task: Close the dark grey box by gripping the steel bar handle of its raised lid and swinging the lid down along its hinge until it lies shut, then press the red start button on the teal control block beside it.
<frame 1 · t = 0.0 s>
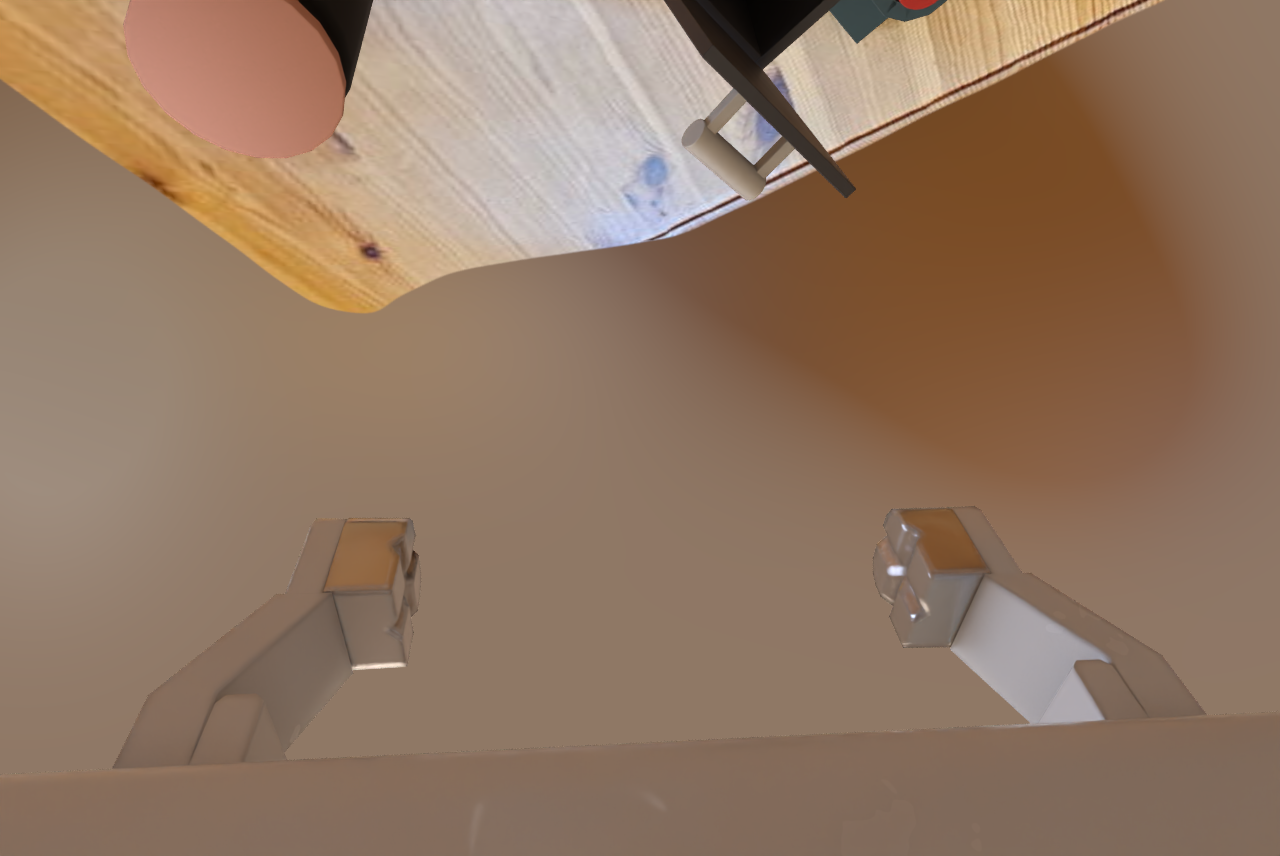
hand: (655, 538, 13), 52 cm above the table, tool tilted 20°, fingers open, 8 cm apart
lid: (714, 93, 43), point 18 cm above the table, hinge at 78.0°
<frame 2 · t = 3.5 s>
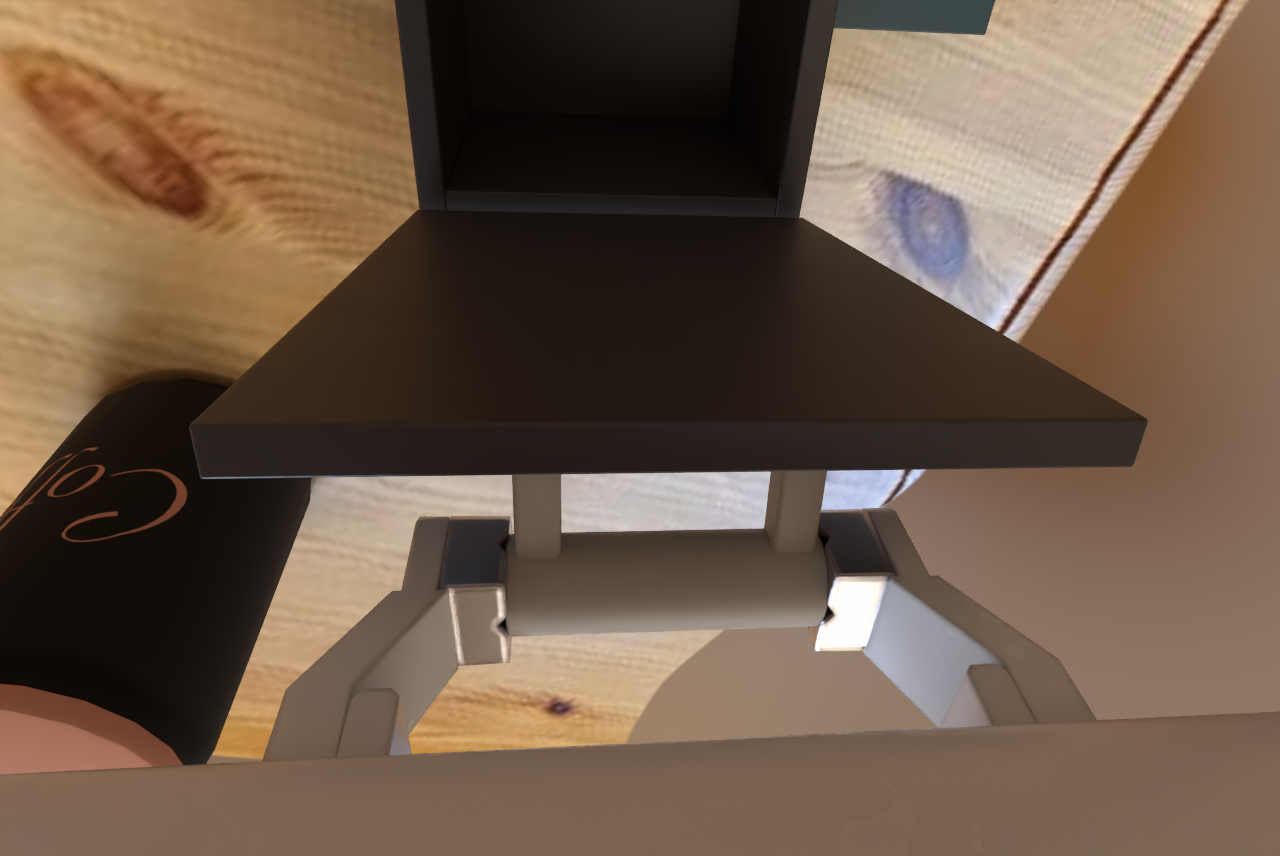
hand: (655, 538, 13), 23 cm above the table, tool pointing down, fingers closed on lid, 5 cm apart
lid: (635, 373, 17), point 18 cm above the table, hinge at 78.0°, touching gripper
coffee jar: (209, 453, 39), on the table
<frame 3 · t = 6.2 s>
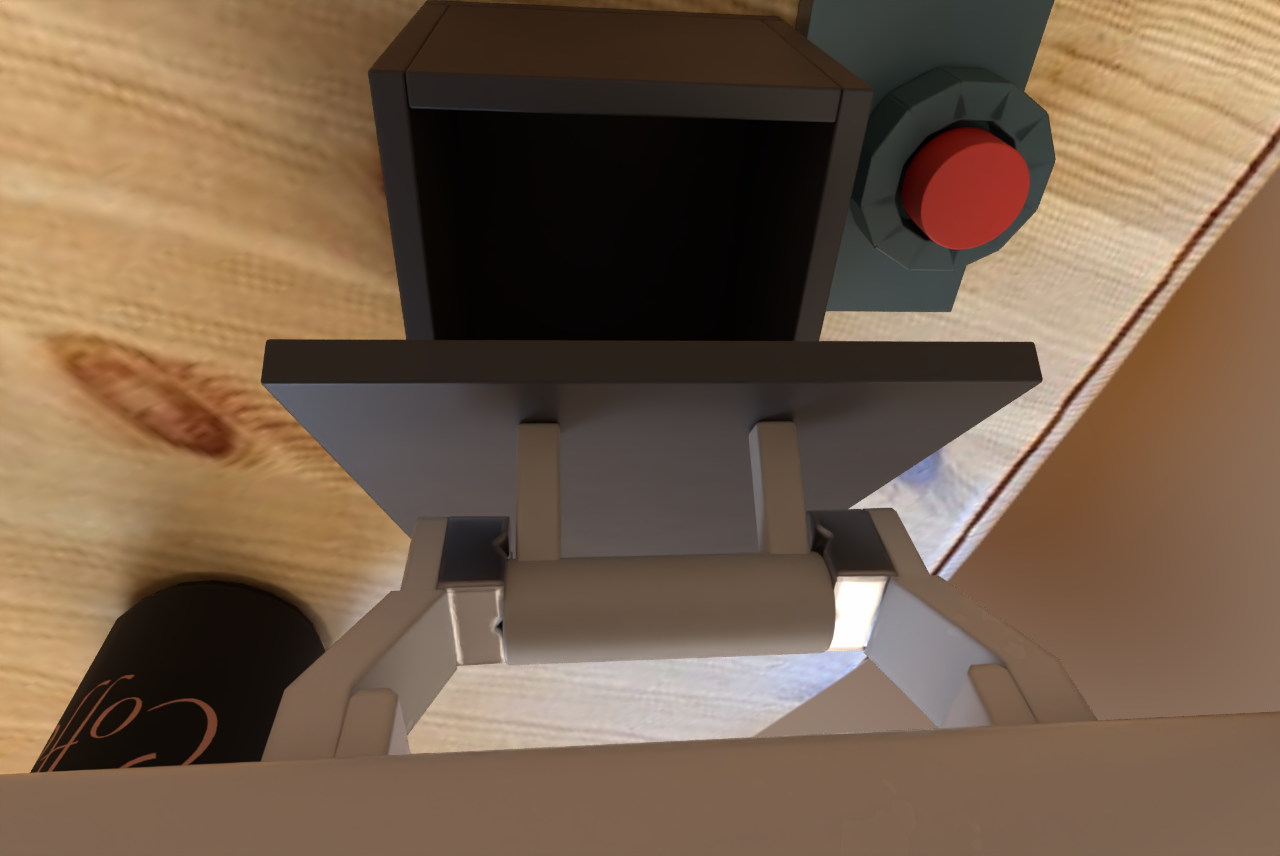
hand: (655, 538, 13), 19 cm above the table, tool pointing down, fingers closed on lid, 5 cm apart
lid: (632, 569, 18), point 16 cm above the table, hinge at 34.1°, touching gripper
dark grey box: (601, 221, 30), on the table
coffee jar: (231, 635, 42), on the table
start button: (963, 189, 26), point 4 cm above the table, slide at 0.1 cm
control block: (880, 150, 29), on the table
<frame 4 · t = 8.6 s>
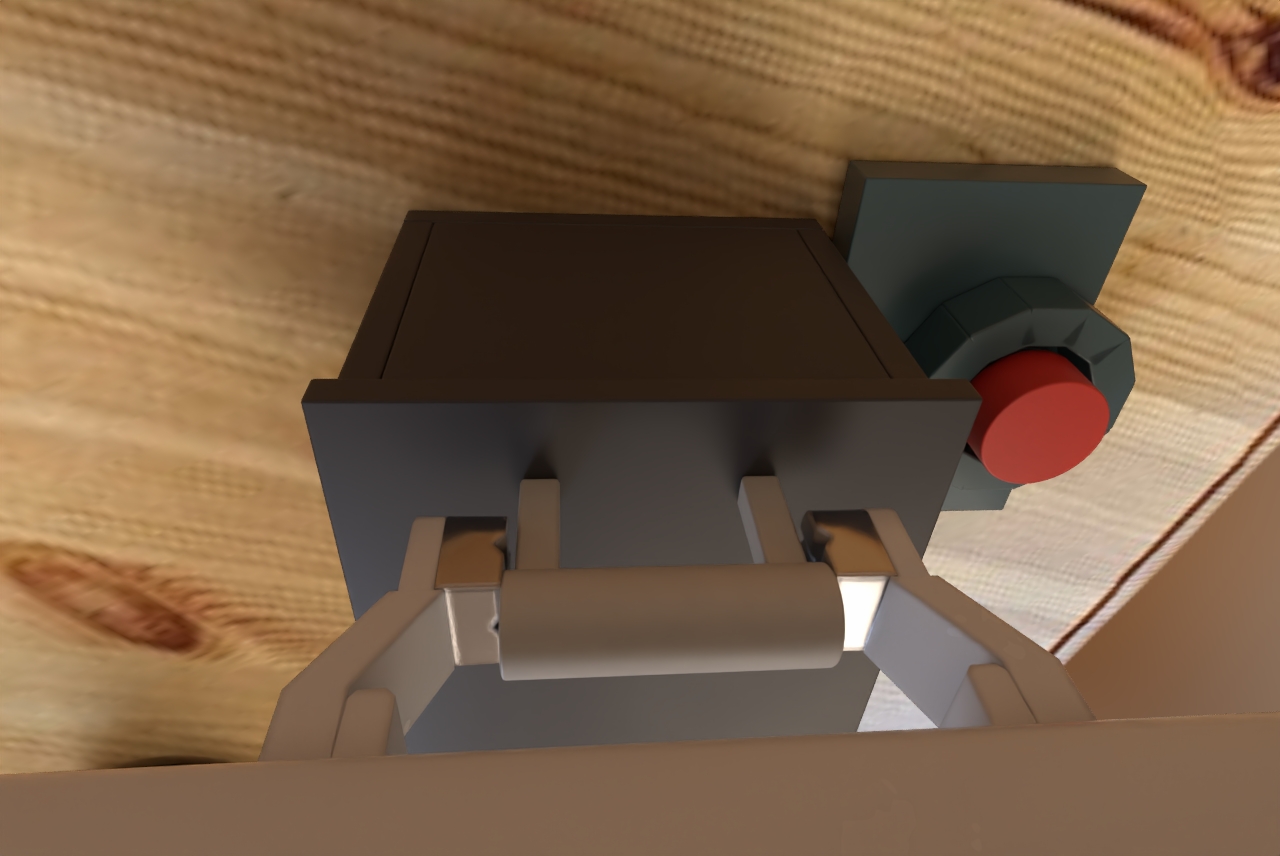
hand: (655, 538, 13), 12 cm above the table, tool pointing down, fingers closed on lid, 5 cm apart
lid: (640, 743, 16), point 12 cm above the table, hinge at -0.2°, touching dark grey box, gripper
dark grey box: (609, 422, 26), on the table
start button: (1030, 417, 22), point 4 cm above the table, slide at 0.1 cm
control block: (927, 346, 25), on the table
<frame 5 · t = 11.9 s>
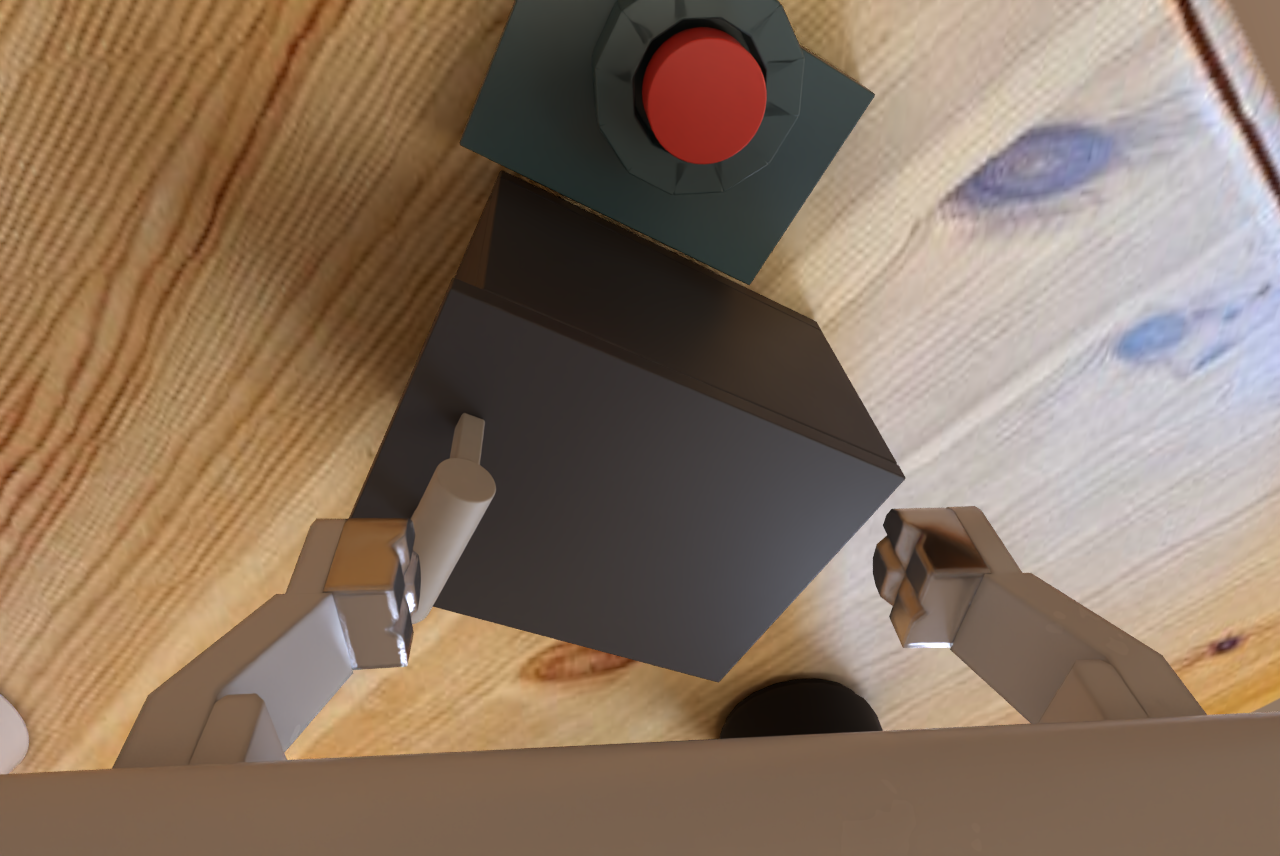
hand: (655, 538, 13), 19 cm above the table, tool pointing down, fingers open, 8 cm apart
lid: (616, 563, 24), point 12 cm above the table, hinge at -0.2°, touching dark grey box
dark grey box: (606, 363, 34), on the table
coffee jar: (791, 718, 52), on the table
start button: (702, 96, 24), point 4 cm above the table, slide at 0.1 cm
control block: (663, 108, 28), on the table
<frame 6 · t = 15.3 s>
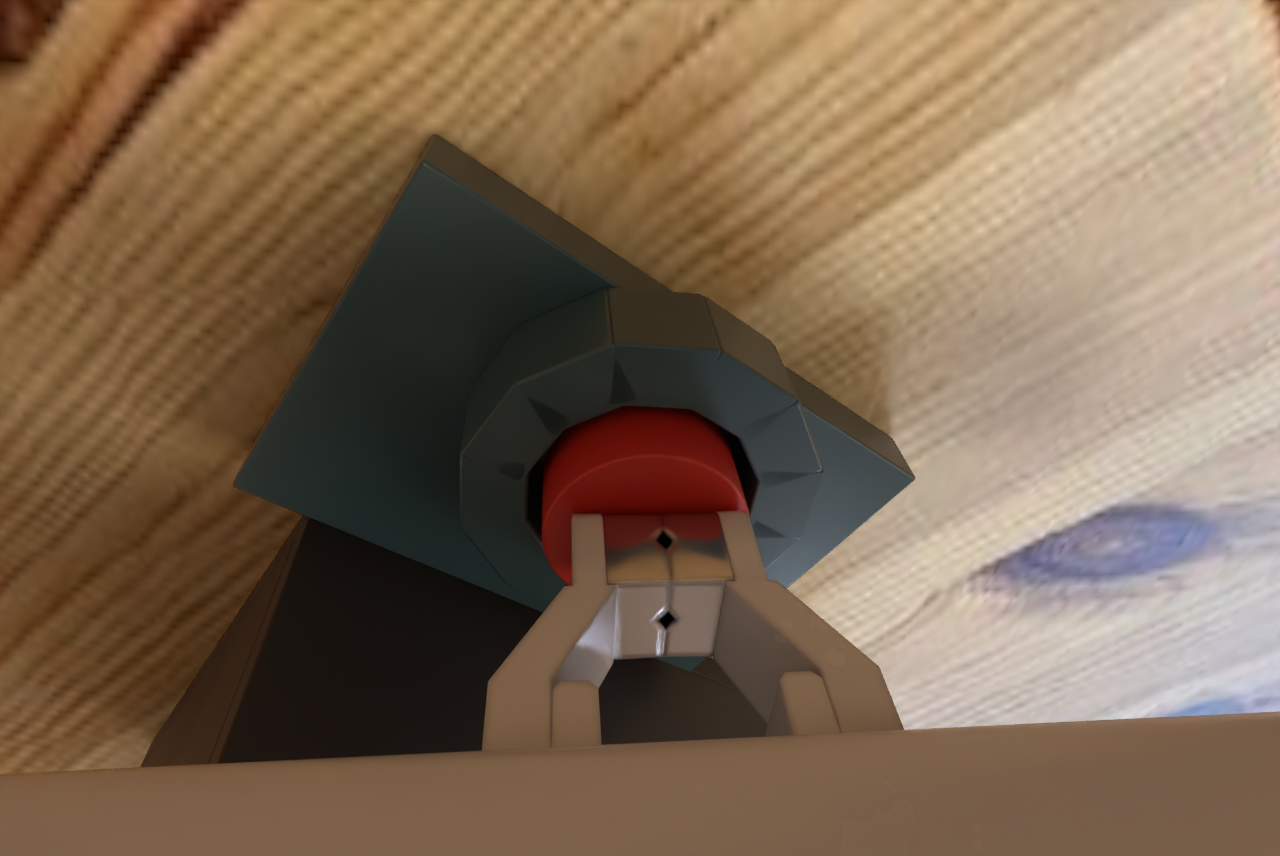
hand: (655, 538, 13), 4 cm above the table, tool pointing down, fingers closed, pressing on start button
dark grey box: (471, 713, 23), on the table
start button: (642, 503, 14), point 4 cm above the table, slide at -0.3 cm, touching gripper
control block: (587, 439, 17), on the table
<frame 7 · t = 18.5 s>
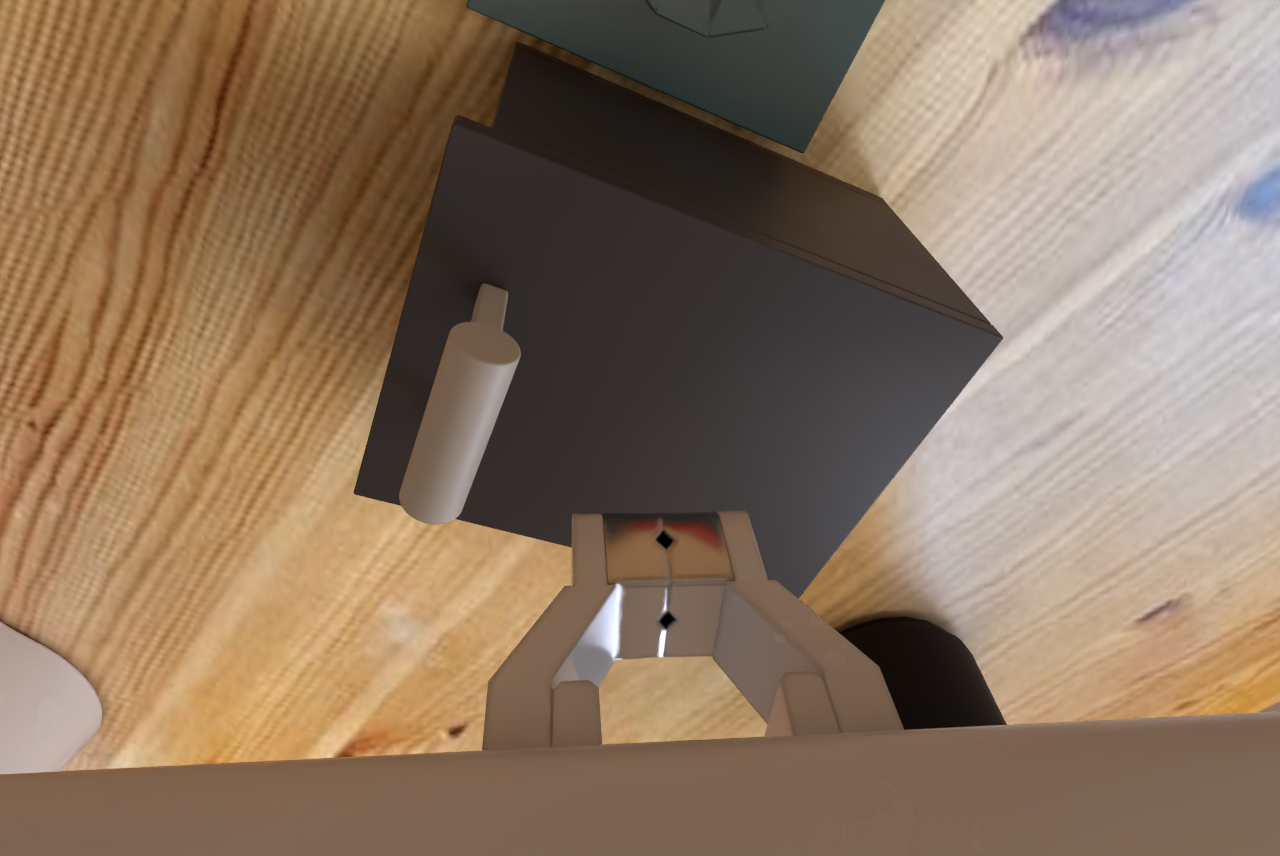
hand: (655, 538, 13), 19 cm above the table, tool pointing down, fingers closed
lid: (670, 453, 21), point 12 cm above the table, hinge at -0.2°, touching dark grey box
dark grey box: (649, 265, 31), on the table
coffee jar: (878, 663, 48), on the table
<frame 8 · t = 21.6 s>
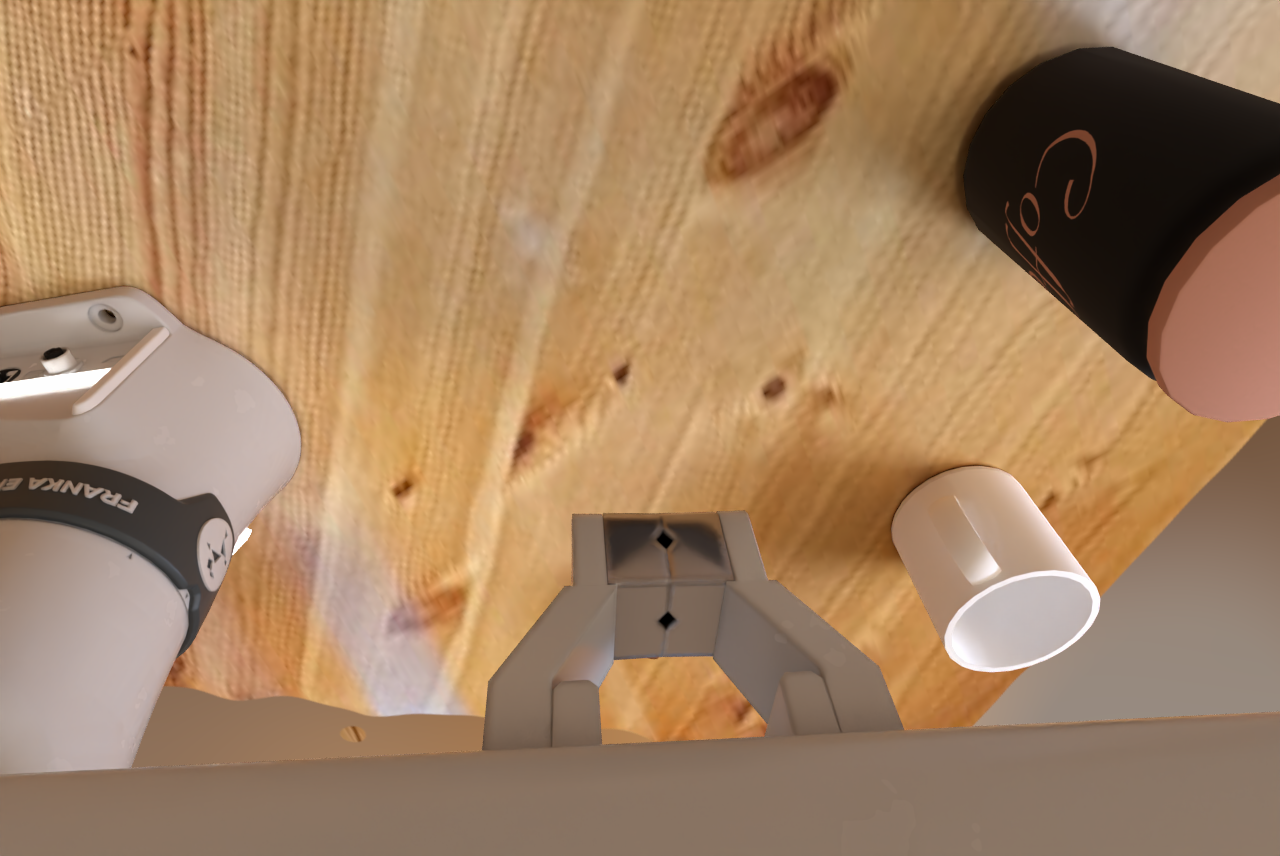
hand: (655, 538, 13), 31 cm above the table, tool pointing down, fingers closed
mug: (947, 504, 58), on the table
coffee jar: (1049, 148, 42), on the table
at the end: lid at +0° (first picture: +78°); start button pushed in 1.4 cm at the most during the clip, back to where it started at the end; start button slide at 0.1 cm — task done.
